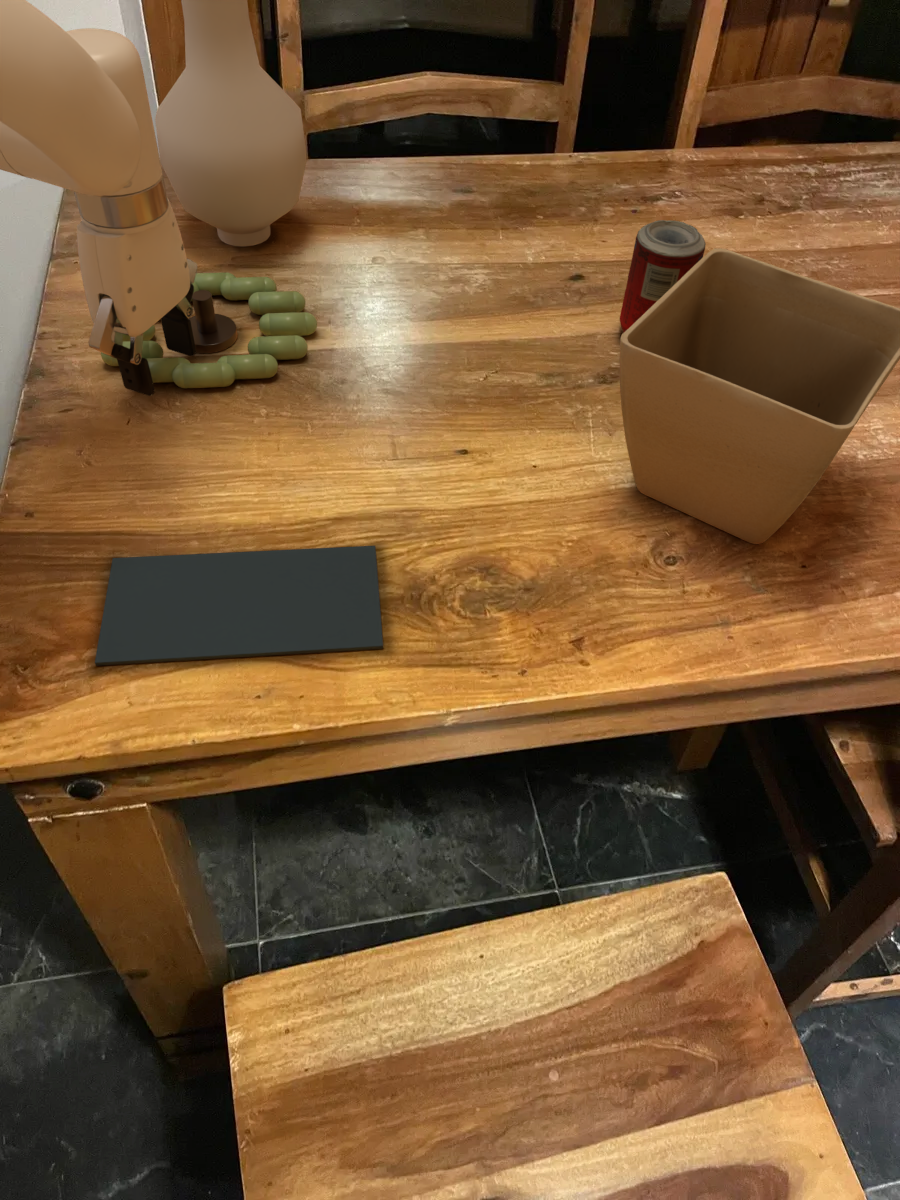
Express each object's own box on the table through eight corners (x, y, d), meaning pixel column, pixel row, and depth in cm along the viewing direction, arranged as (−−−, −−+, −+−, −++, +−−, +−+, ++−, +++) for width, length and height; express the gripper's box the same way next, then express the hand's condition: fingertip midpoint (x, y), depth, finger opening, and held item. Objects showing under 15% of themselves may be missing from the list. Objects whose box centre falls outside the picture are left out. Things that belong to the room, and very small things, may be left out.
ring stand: (178, 354, 98) (169, 311, 94) (182, 321, 102) (174, 280, 98) (236, 352, 98) (229, 310, 95) (238, 320, 102) (232, 279, 98)
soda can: (682, 357, 101) (711, 251, 92) (617, 352, 101) (639, 246, 92) (677, 321, 106) (704, 217, 97) (615, 316, 106) (636, 212, 97)
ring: (85, 397, 92) (79, 377, 91) (106, 291, 105) (101, 271, 103) (321, 387, 95) (320, 367, 93) (314, 284, 108) (313, 265, 106)
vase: (332, 253, 112) (317, -15, 91) (198, 280, 107) (149, 3, 86) (285, 191, 122) (261, -64, 101) (160, 213, 117) (107, -50, 95)
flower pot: (583, 494, 86) (615, 337, 74) (674, 395, 97) (715, 242, 84) (777, 587, 80) (849, 432, 67) (851, 470, 90) (926, 316, 77)
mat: (95, 665, 71) (94, 662, 71) (113, 561, 78) (112, 557, 78) (383, 649, 74) (383, 645, 73) (375, 548, 81) (375, 545, 80)
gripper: (143, 148, 87) (178, 318, 100) (18, 232, 76) (76, 409, 89) (213, 165, 85) (239, 336, 98) (96, 253, 74) (142, 430, 88)
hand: (161, 369), depth 94 cm, fingers open, 6 cm apart
